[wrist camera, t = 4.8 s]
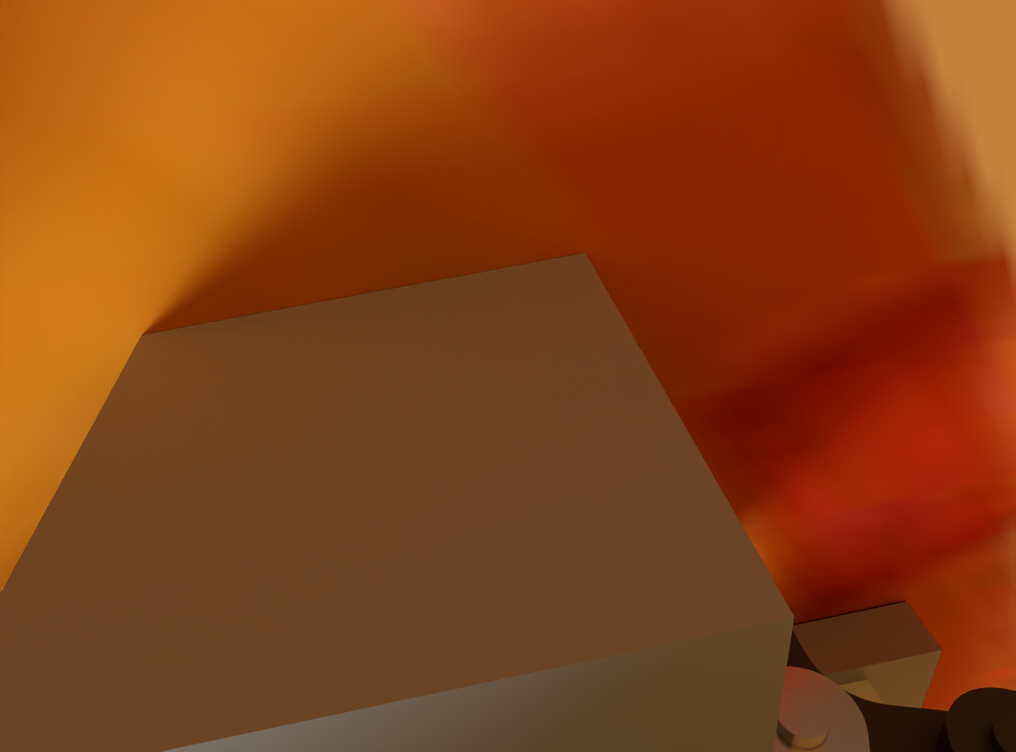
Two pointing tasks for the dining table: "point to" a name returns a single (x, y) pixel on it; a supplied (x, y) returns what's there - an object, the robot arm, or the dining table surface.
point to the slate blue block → (394, 542)
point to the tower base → (874, 653)
